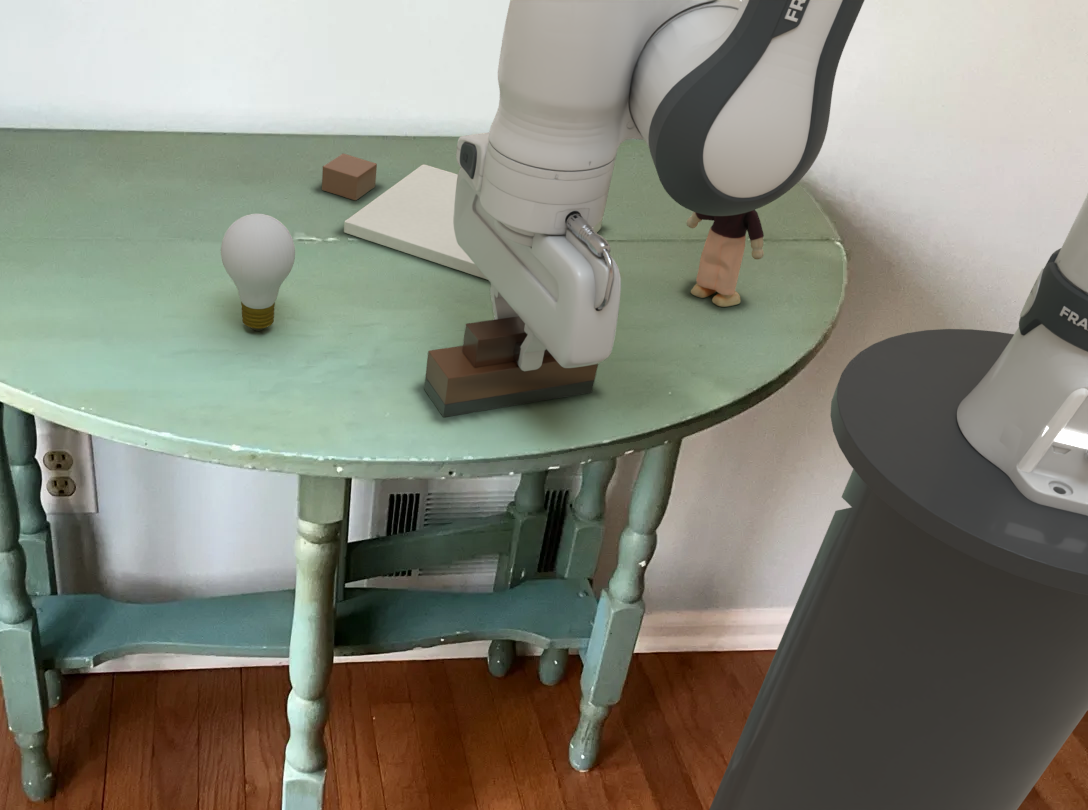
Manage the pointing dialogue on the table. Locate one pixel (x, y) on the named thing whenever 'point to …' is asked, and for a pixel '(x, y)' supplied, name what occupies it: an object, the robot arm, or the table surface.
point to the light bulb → (258, 264)
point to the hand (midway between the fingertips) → (515, 352)
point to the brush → (497, 372)
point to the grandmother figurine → (725, 254)
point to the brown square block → (349, 176)
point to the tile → (417, 219)
